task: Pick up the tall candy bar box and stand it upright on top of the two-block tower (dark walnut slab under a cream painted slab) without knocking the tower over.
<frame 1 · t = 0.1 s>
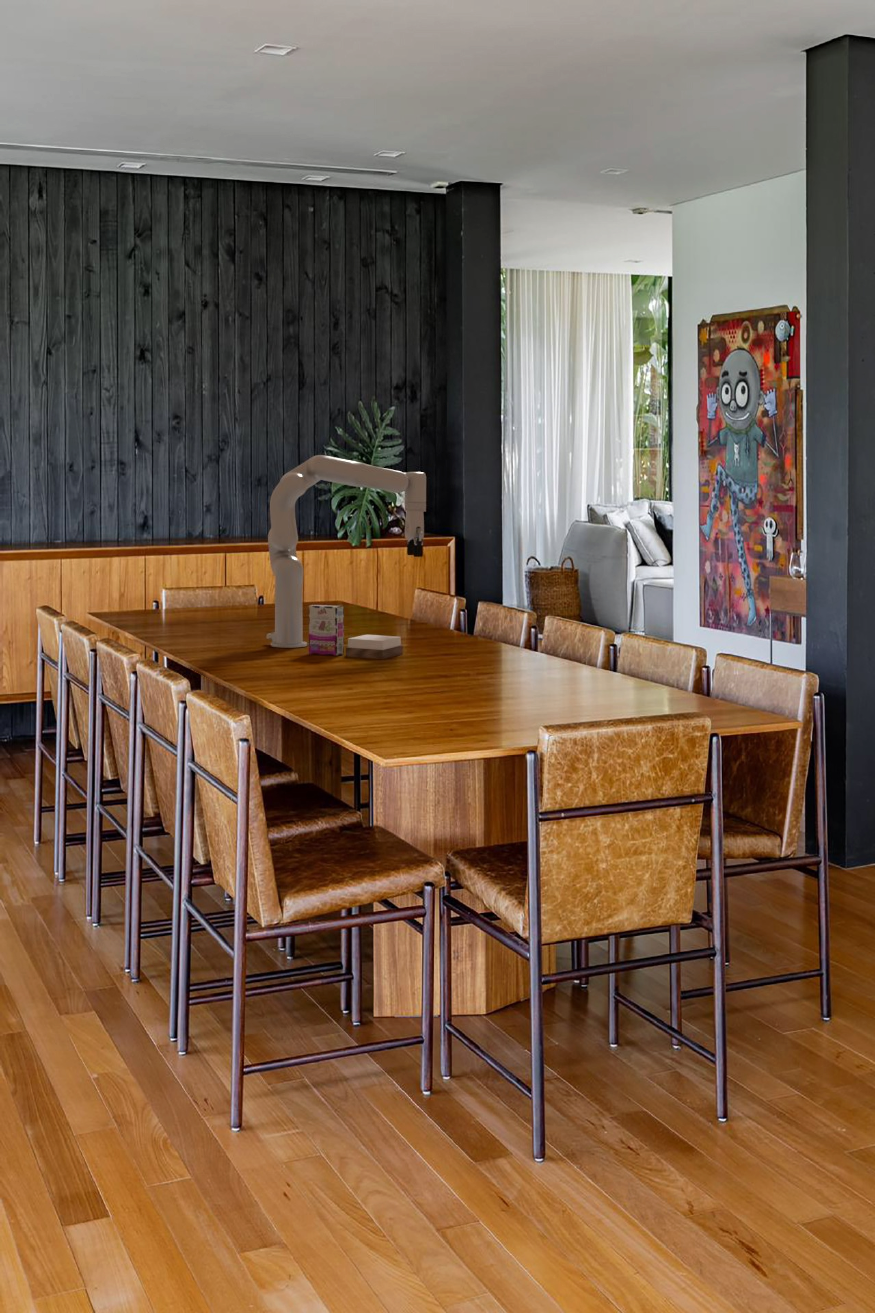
hand: (414, 555, 501), 31 cm above the table, tool pointing down, fingers open, 9 cm apart
walnut base block: (374, 656, 473), on the table, touching cream top block
candy bar box: (326, 654, 474), on the table
cream top block: (374, 646, 472), point 3 cm above the table, touching walnut base block
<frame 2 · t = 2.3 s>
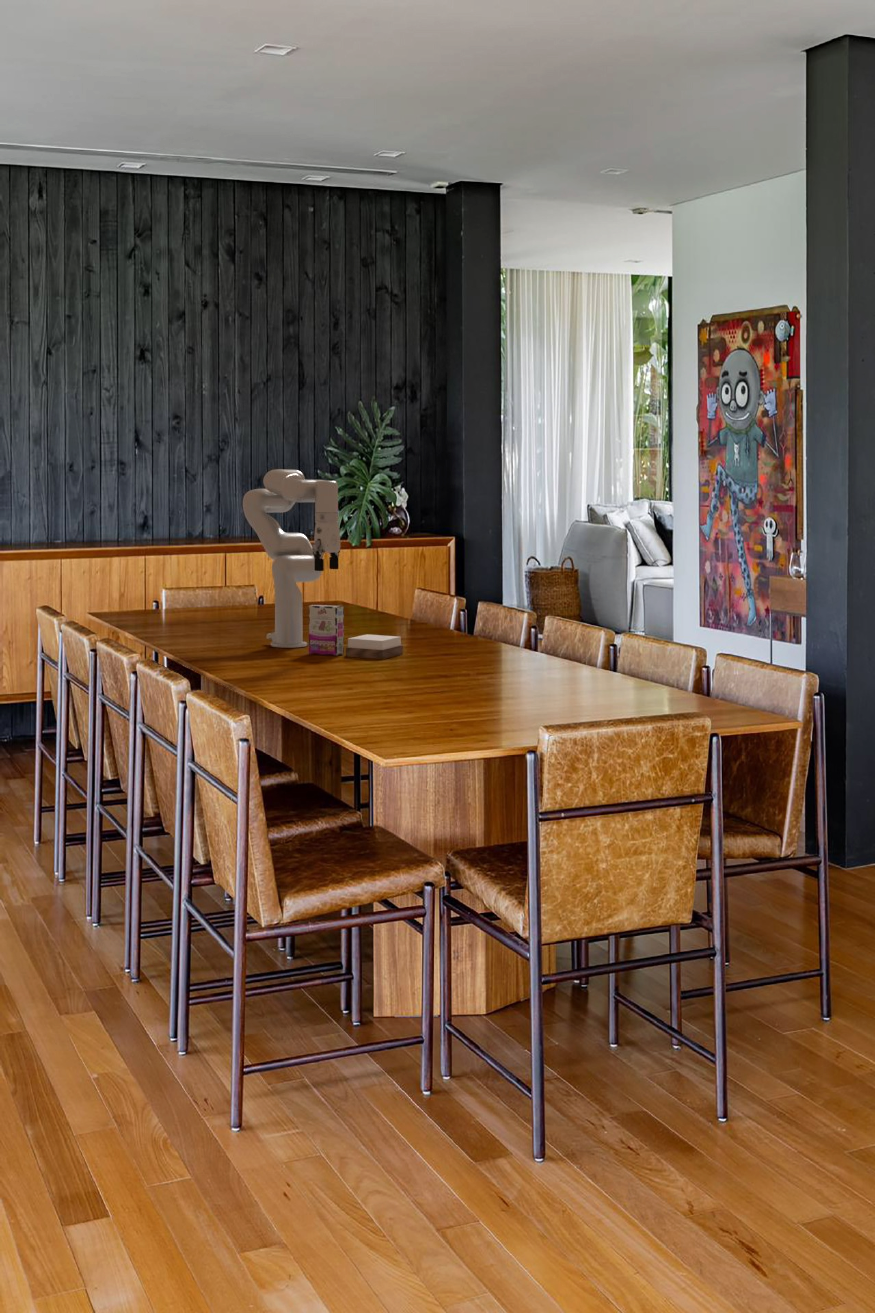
hand: (326, 569, 470), 28 cm above the table, tool pointing down, fingers open, 9 cm apart
nothing on the table moved.
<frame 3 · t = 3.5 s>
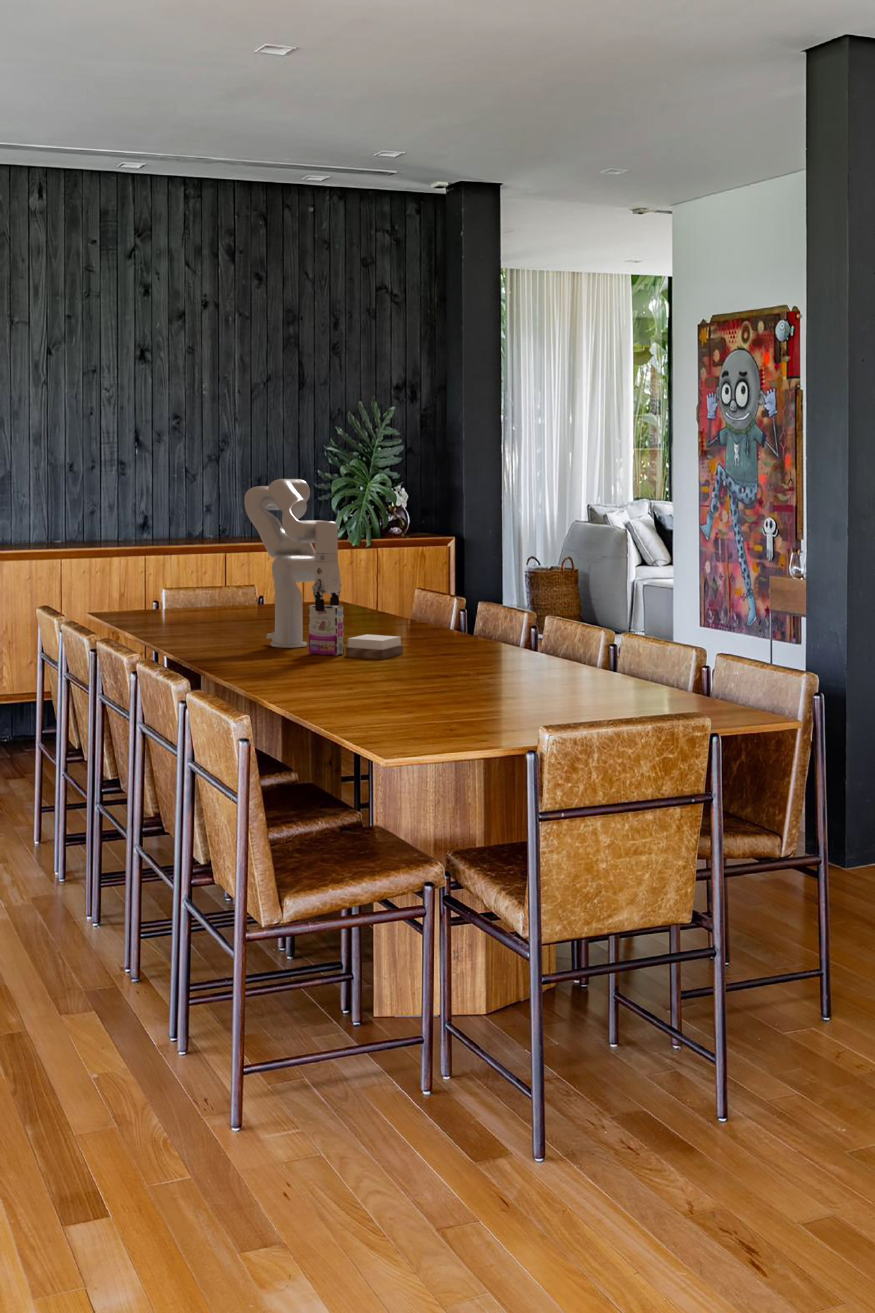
hand: (327, 610, 471), 15 cm above the table, tool pointing down, fingers open, 9 cm apart
nothing on the table moved.
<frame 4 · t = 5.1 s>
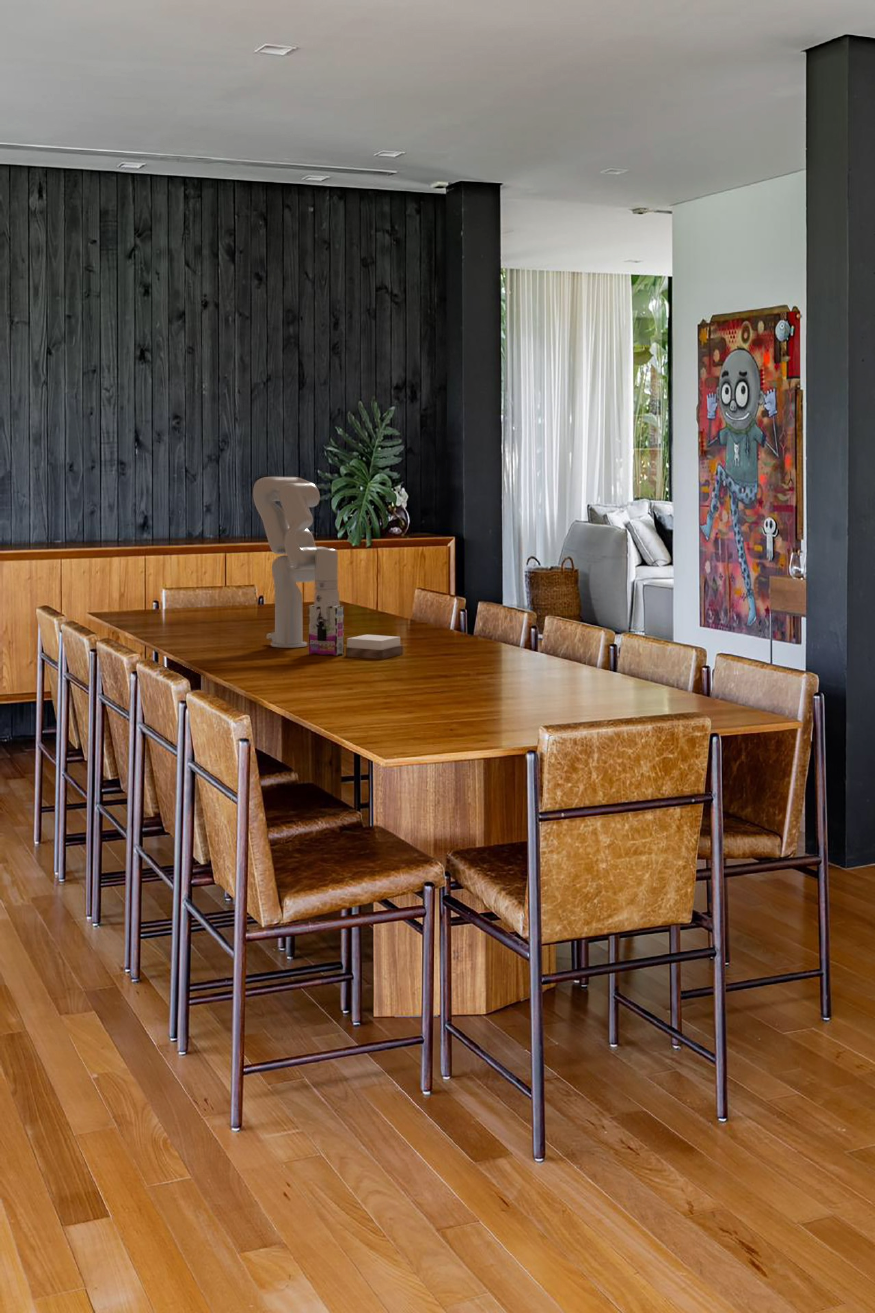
hand: (326, 639, 473), 5 cm above the table, tool pointing down, fingers closed on candy bar box, 5 cm apart
candy bar box: (326, 654, 474), on the table, touching gripper
everything else where it was.
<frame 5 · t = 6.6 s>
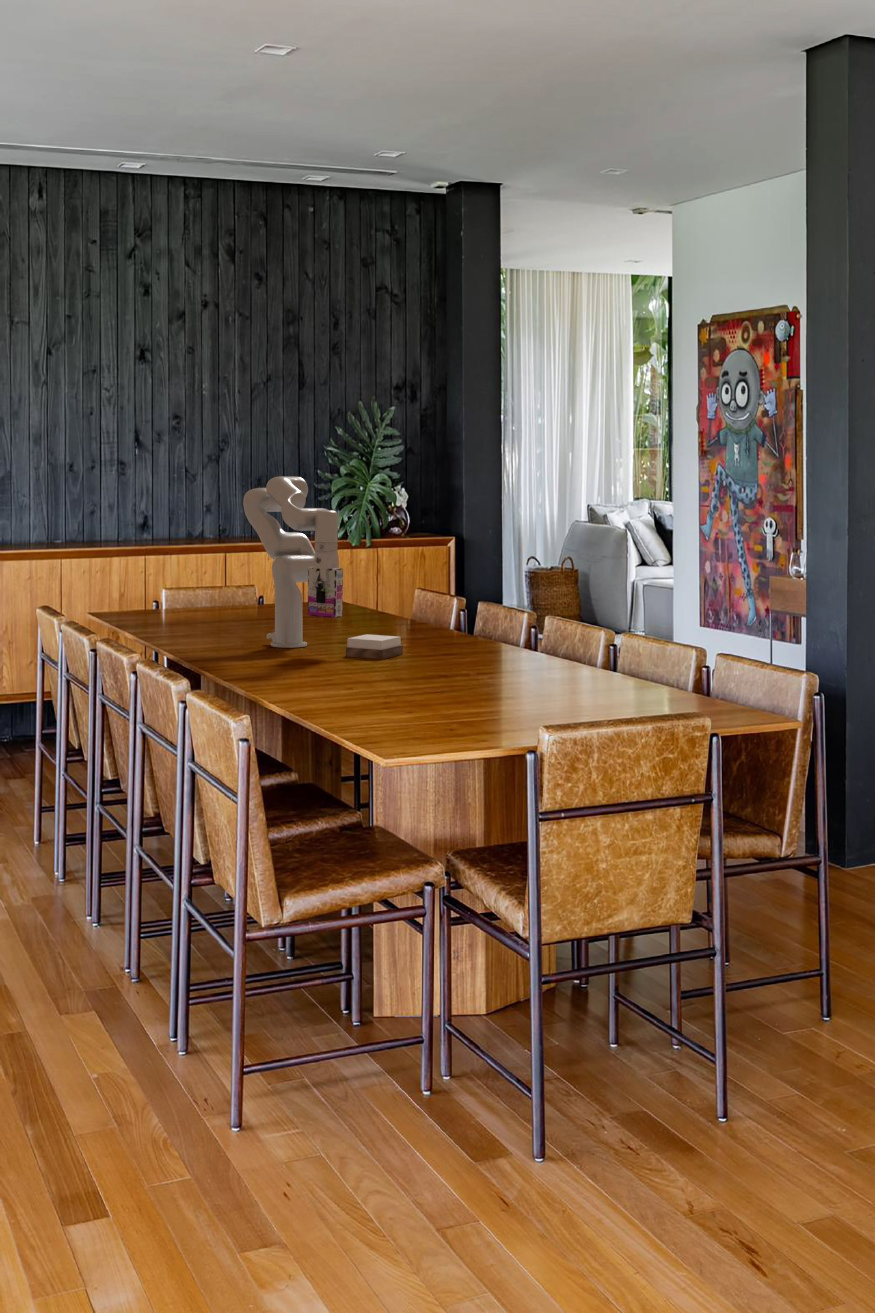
hand: (325, 601, 472), 18 cm above the table, tool pointing down, fingers closed on candy bar box, 5 cm apart
candy bar box: (325, 617, 473), point 12 cm above the table, touching gripper
everything else where it was.
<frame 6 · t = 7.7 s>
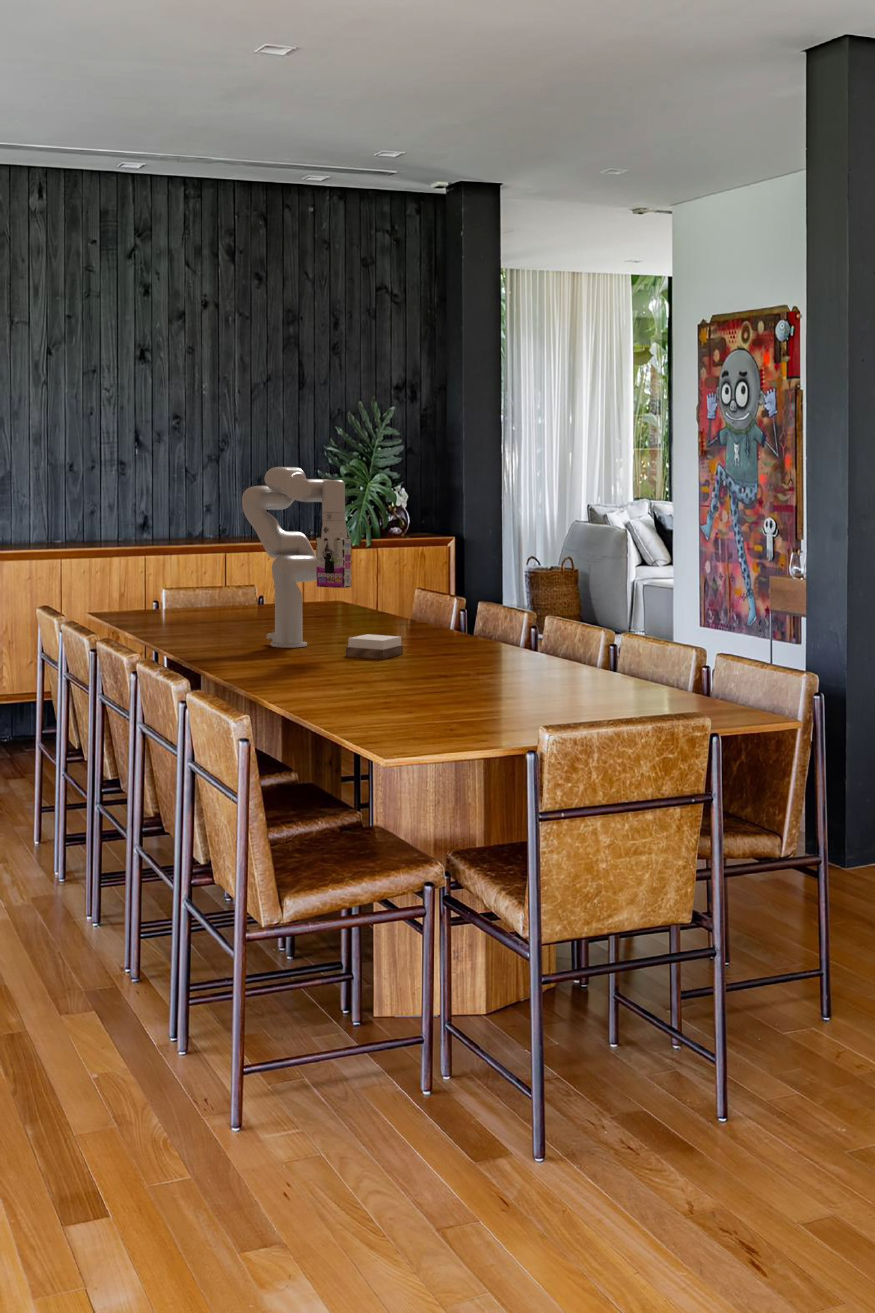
hand: (333, 572, 470), 28 cm above the table, tool pointing down, fingers closed on candy bar box, 5 cm apart
candy bar box: (334, 587, 470), point 22 cm above the table, touching gripper
everything else where it was.
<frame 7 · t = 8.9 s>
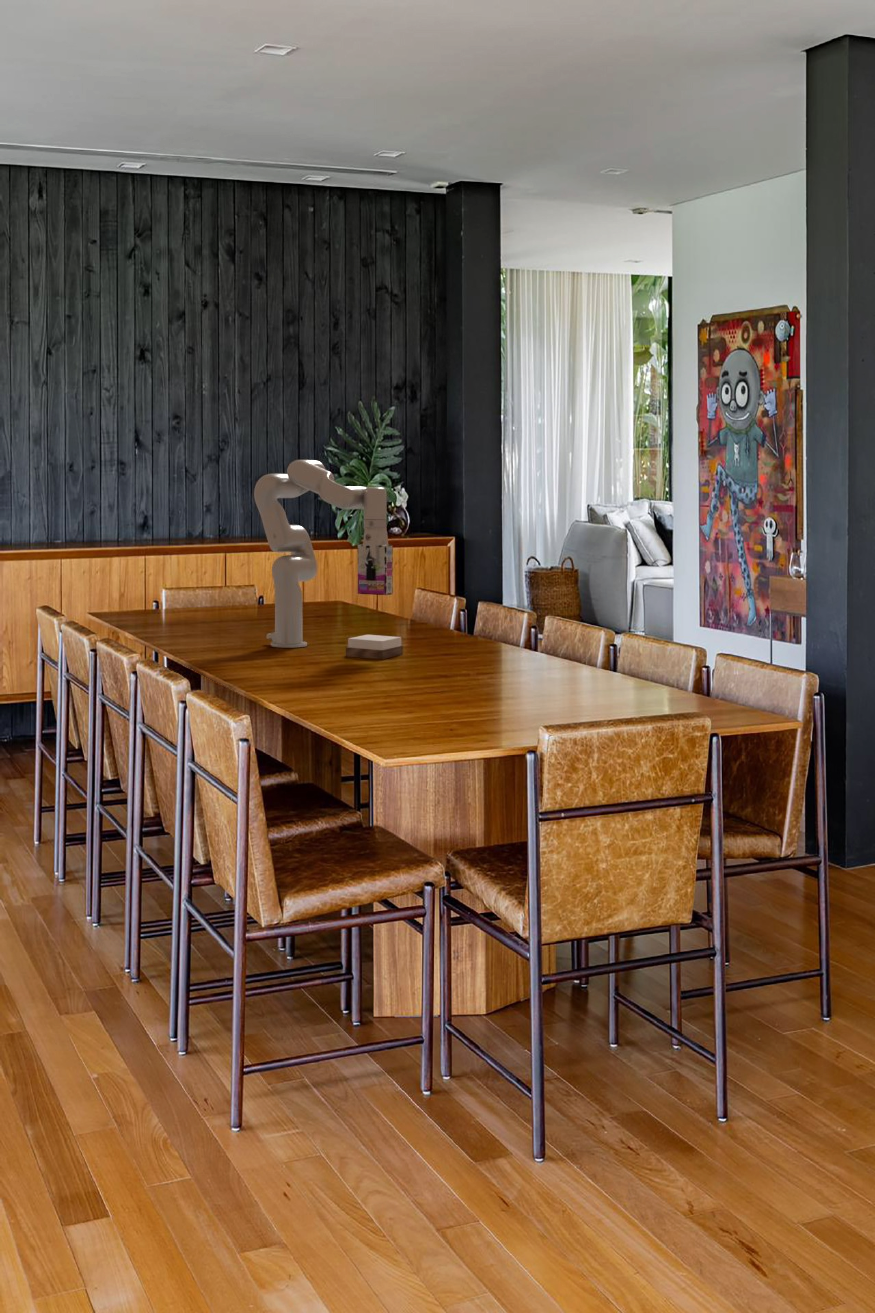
hand: (375, 579, 469), 25 cm above the table, tool pointing down, fingers closed on candy bar box, 5 cm apart
candy bar box: (375, 594, 470), point 20 cm above the table, touching gripper
everything else where it was.
when the fingers open (12 cm above the table, at t = 11.0 s): candy bar box drops 1 cm, resting on cream top block.
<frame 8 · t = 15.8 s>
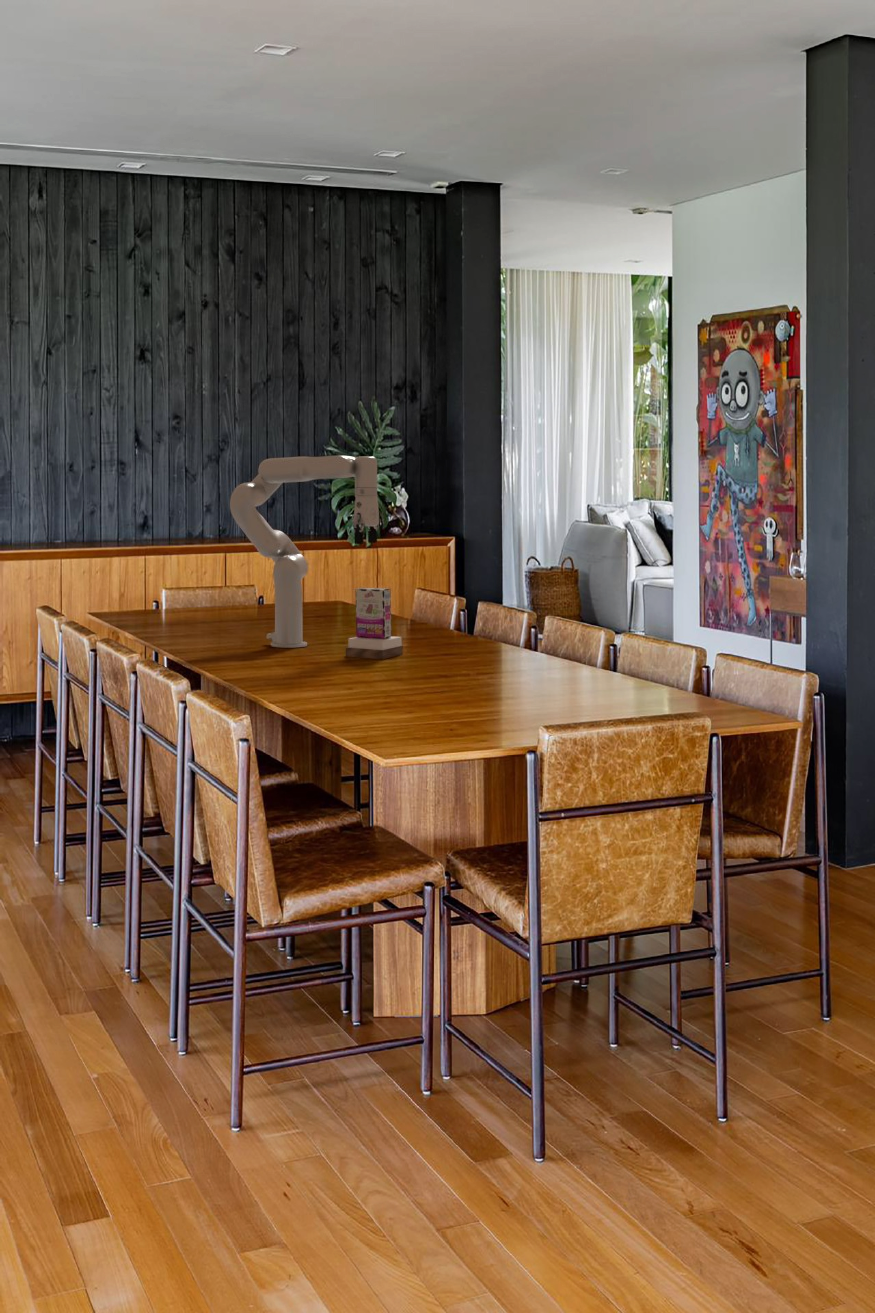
hand: (365, 543, 485), 36 cm above the table, tool pointing down, fingers open, 9 cm apart
candy bar box: (373, 637, 472), point 6 cm above the table, touching cream top block
cream top block: (375, 646, 472), point 3 cm above the table, touching candy bar box, walnut base block
everything else where it was.
at the end: candy bar box inside the target area on the cream top block (0.5 cm from its centre), point 2.9 cm above the cream top block's base; cream top block 0.4 cm from the target spot, point 2.8 cm above the table; candy bar box tilted 2° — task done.
